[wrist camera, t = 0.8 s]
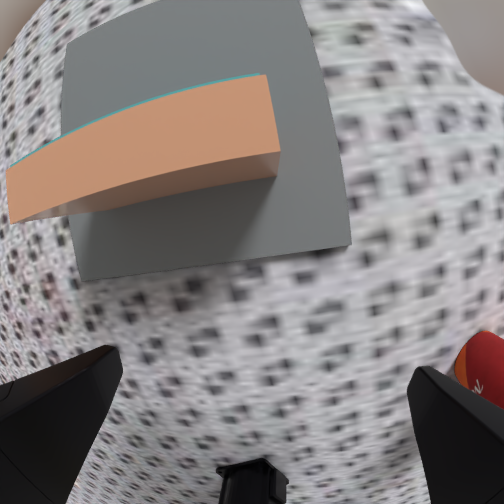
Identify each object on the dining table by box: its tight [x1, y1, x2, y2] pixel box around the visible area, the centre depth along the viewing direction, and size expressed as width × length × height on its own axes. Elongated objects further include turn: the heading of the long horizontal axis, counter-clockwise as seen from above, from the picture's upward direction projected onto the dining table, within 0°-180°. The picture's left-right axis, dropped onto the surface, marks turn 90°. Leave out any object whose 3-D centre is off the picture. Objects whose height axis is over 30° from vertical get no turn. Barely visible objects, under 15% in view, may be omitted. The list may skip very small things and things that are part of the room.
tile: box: [6, 73, 281, 224], centre depth 14 cm, size 3×13×10 cm, turn 99°
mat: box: [61, 0, 352, 281], centre depth 18 cm, size 24×22×1 cm
